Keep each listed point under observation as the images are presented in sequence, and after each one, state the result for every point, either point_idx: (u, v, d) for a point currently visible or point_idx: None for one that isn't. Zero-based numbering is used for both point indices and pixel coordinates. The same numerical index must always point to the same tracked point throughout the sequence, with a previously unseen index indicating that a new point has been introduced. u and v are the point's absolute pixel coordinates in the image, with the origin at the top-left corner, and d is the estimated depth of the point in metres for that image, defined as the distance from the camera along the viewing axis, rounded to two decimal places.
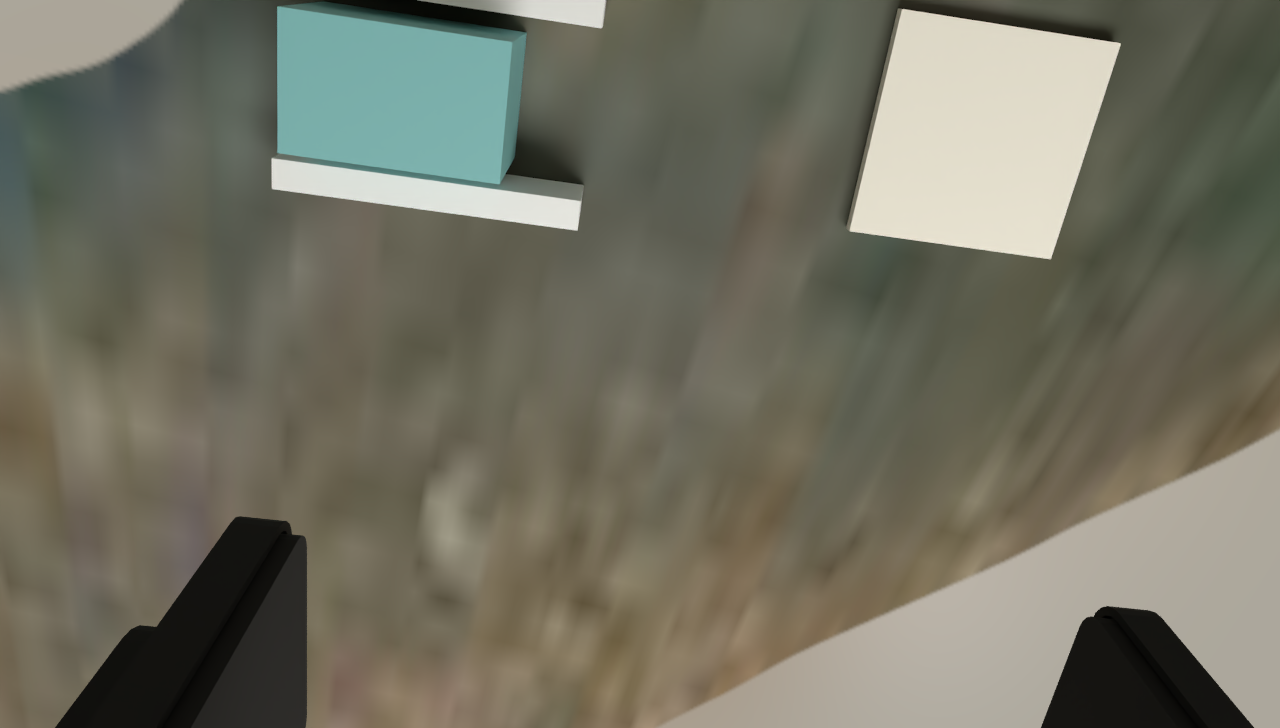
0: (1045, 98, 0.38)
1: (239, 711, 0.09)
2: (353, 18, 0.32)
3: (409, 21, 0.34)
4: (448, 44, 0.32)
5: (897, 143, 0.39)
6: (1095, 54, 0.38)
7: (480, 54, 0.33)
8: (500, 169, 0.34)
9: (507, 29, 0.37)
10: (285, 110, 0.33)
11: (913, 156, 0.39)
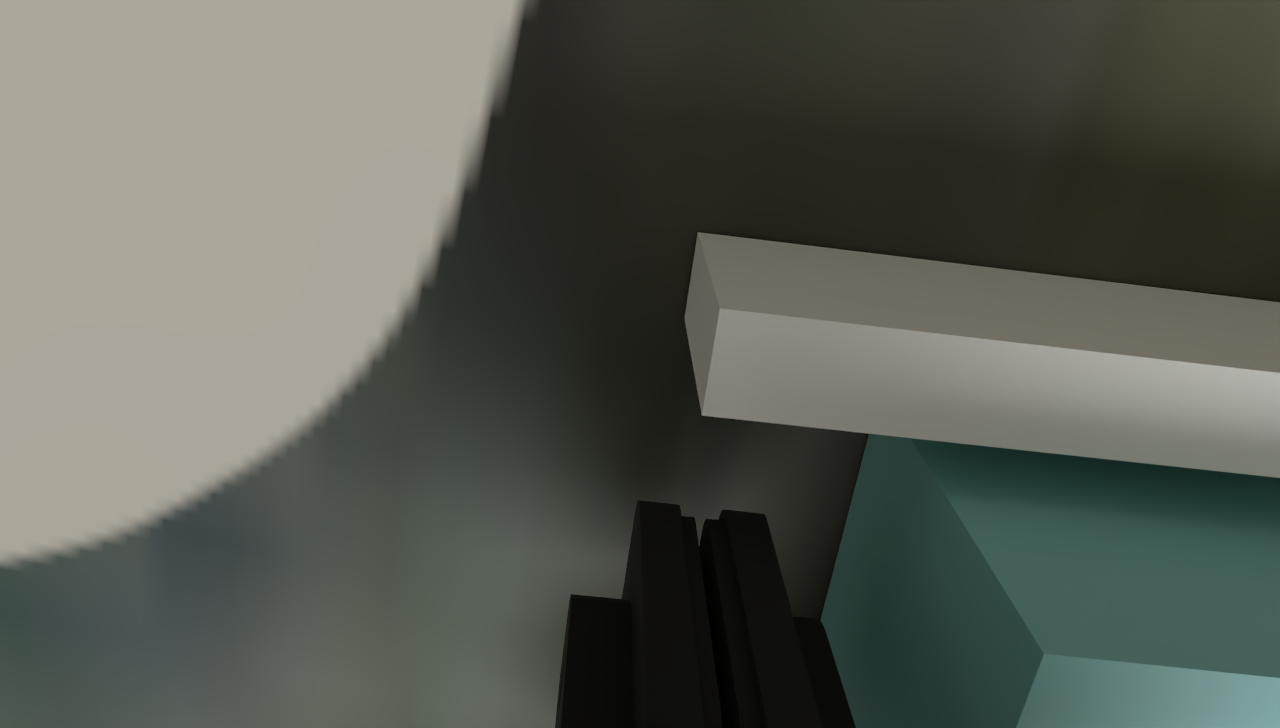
0: None
1: None
2: None
3: None
4: None
5: None
6: None
7: None
8: None
9: None
10: None
11: None
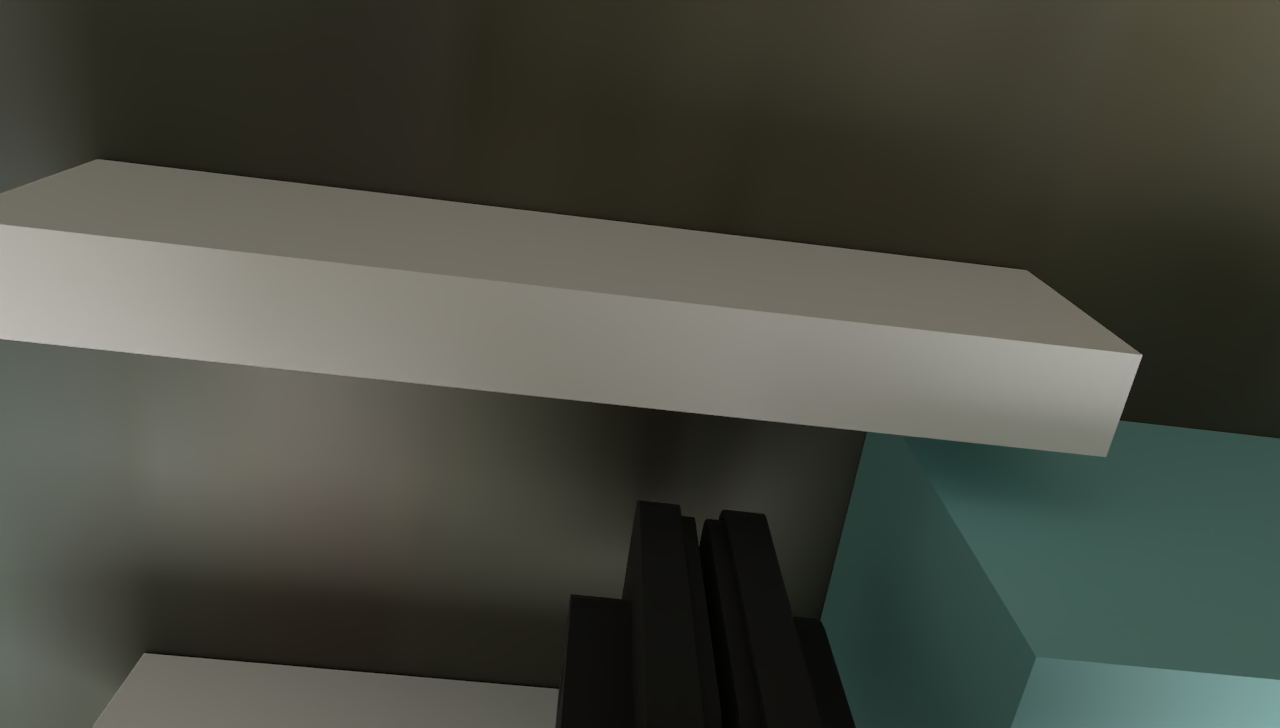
0: None
1: None
2: None
3: None
4: None
5: None
6: None
7: None
8: None
9: None
10: None
11: None
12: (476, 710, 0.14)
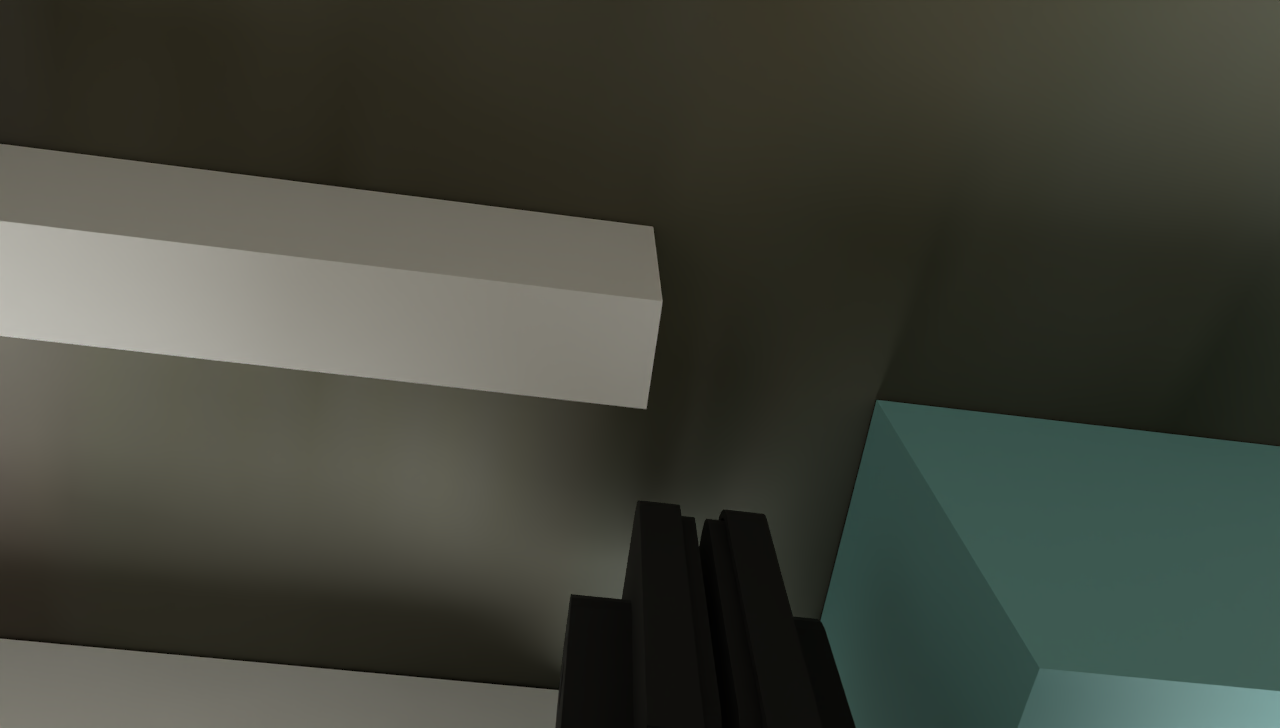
0: None
1: None
2: None
3: None
4: None
5: None
6: None
7: None
8: None
9: None
10: None
11: None
12: (136, 680, 0.14)
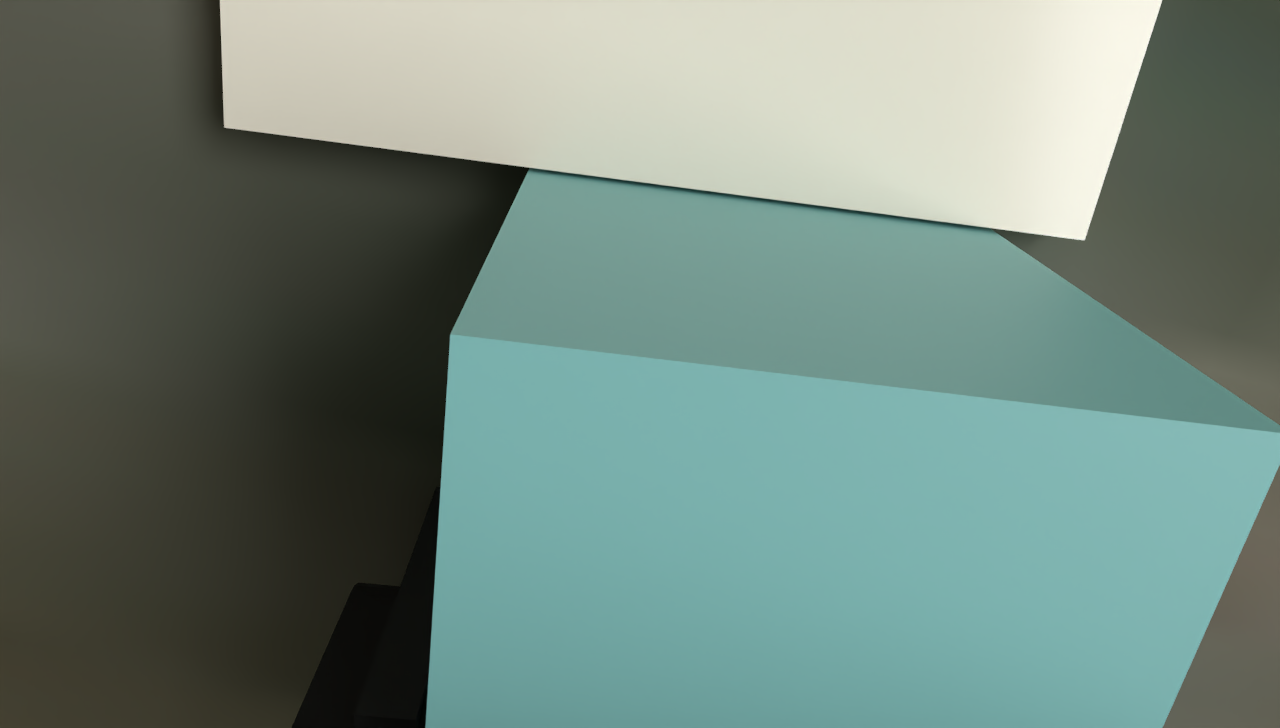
0: None
1: None
2: None
3: None
4: (493, 652, 0.06)
5: (743, 82, 0.09)
6: None
7: (532, 506, 0.06)
8: (1198, 422, 0.06)
9: None
10: None
11: (801, 3, 0.09)
12: None
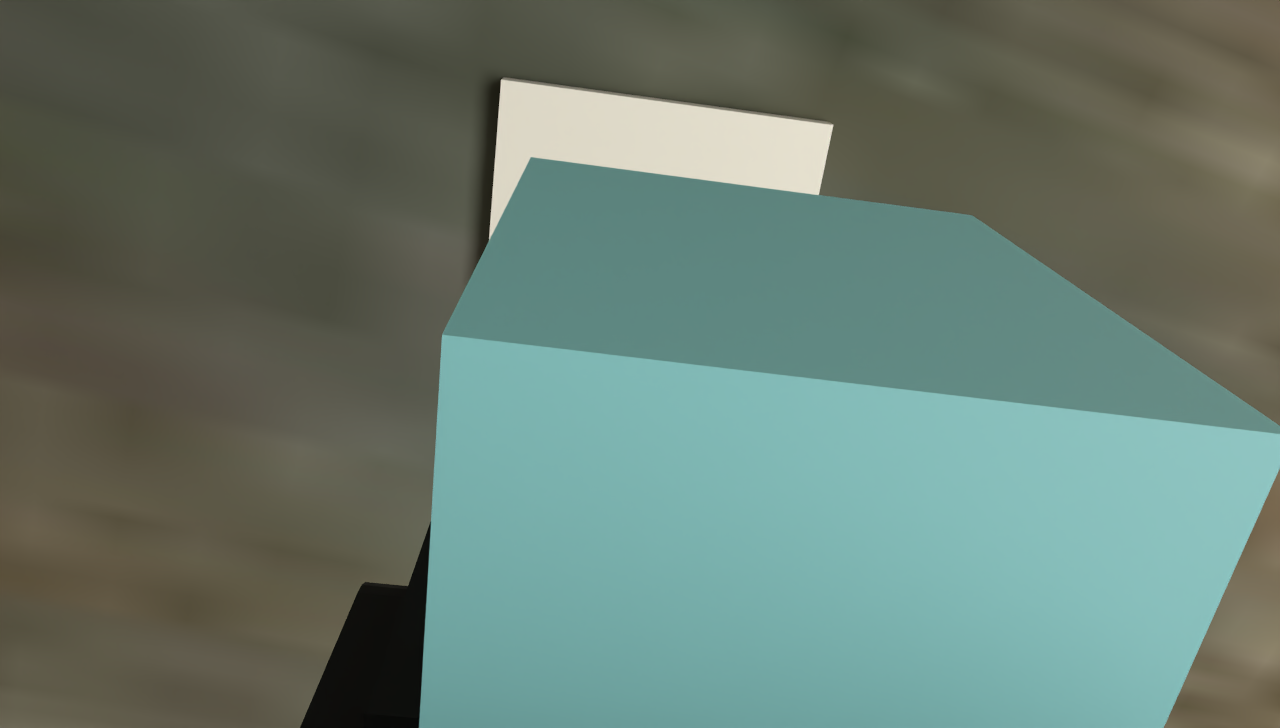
0: None
1: None
2: None
3: None
4: (486, 654, 0.06)
5: None
6: (519, 115, 0.25)
7: (525, 507, 0.06)
8: (1198, 423, 0.06)
9: None
10: None
11: None
12: None
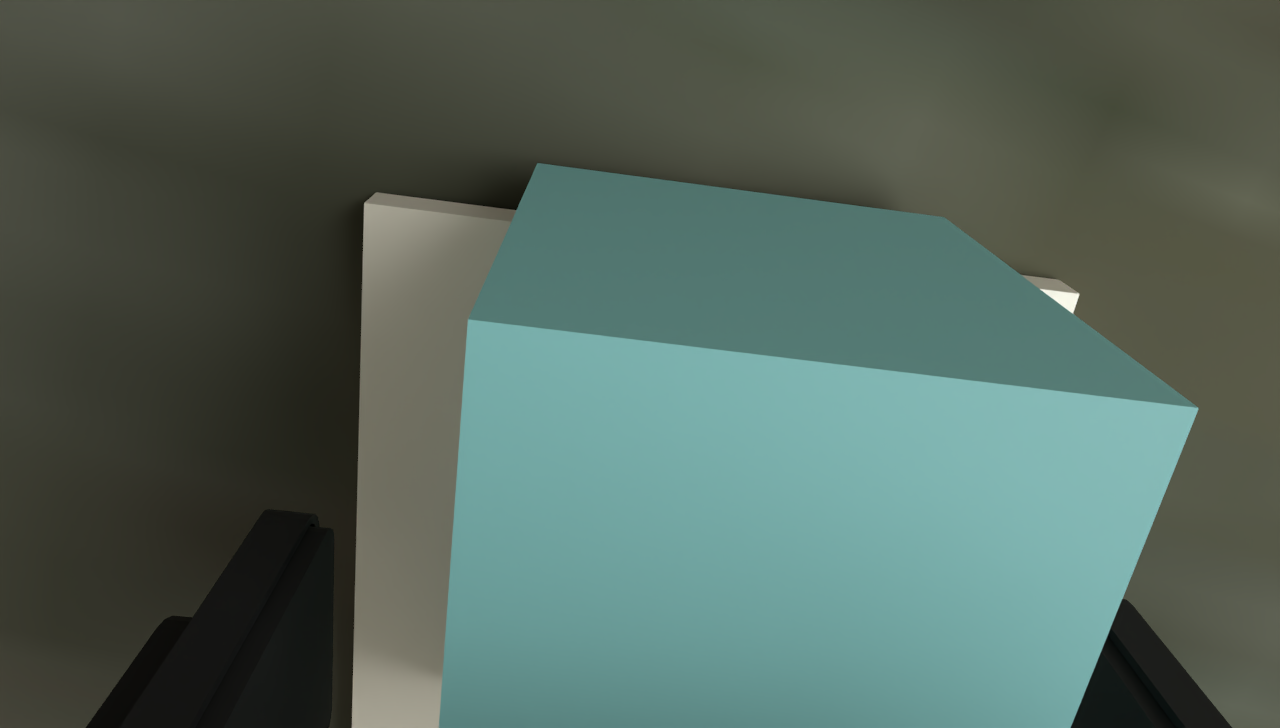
0: None
1: (273, 698, 0.09)
2: None
3: None
4: (501, 600, 0.07)
5: None
6: (407, 277, 0.12)
7: (536, 468, 0.07)
8: (1117, 397, 0.06)
9: None
10: None
11: None
12: None
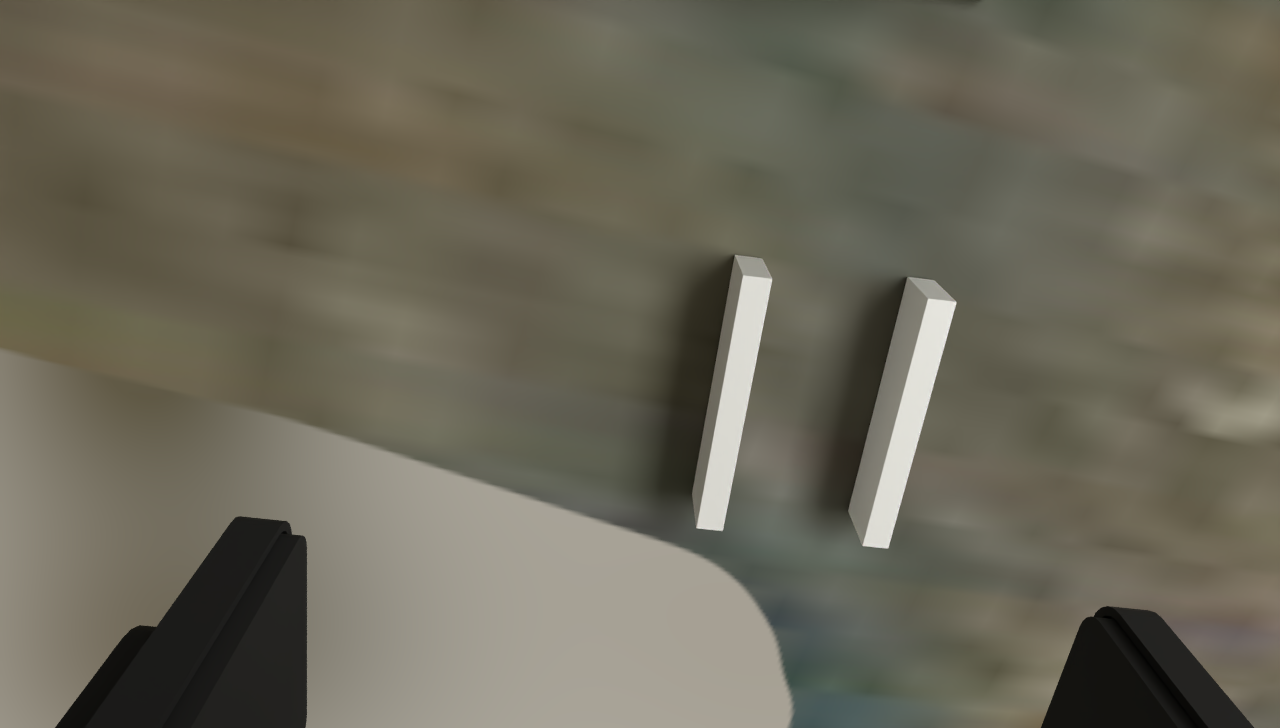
0: None
1: (239, 711, 0.09)
2: None
3: None
4: None
5: None
6: None
7: None
8: None
9: None
10: None
11: None
12: (875, 420, 0.43)
